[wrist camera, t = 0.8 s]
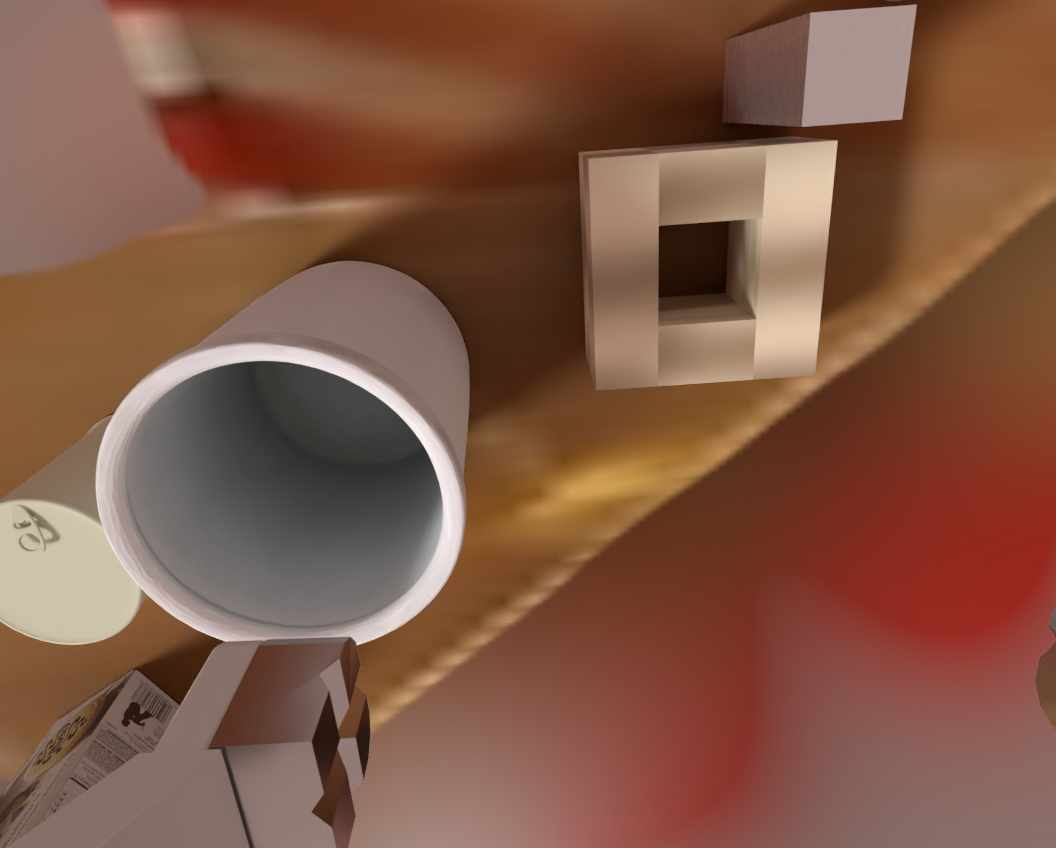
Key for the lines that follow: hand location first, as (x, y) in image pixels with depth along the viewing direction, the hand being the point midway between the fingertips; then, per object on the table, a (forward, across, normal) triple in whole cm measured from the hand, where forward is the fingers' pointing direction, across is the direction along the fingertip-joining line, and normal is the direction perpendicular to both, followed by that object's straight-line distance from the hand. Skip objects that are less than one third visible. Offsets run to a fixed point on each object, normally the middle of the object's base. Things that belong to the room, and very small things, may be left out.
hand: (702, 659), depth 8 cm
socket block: (+36, -8, +2) cm, 37 cm away
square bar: (+36, -12, -7) cm, 39 cm away
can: (+37, +27, +14) cm, 48 cm away
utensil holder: (+37, +12, +8) cm, 39 cm away
